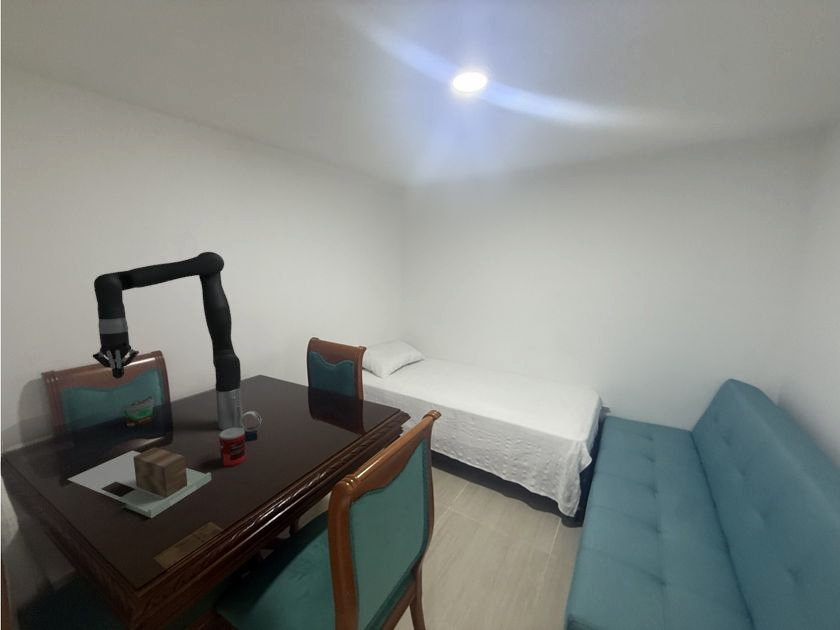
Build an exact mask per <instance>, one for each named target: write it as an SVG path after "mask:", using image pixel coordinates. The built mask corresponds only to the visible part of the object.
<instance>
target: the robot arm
mask: <svg viewBox="0 0 840 630" xmlns="http://www.w3.org/2000/svg"><path fill="white" fill-rule="evenodd" d="M224 268H225V261H224V259H223V257H222V256H221V255H220V254H218V253H216V252H213V251H203V252H201V253H199V254H198V255H197V256H194V257H191V258H188V259H183V260H179V261H174V262H165V263H159V264H158V263H157V264H151V265H145V266H140V267H136V268H135V267H134V268H131V269H129V270H121V271H116V272H110V273H104V274H100V275H98V276H97V277H96V278H95V279H94V281H93V289H94V293H95V299H96V303H97V317H98V324H97V325H98V334H99V343H100V348H99V351H98V352H97V353H93V354H92V358H93V359H94V360H96V361H97V362H98V363H99V364H101V366H103V367H105V368H110V369H111V371H112V377H113V378H114V379H121V378H123V377H124V376H125V368H124V367H127V366H128V365H130V364H131V363H132V362H133V361H134V360H135V358H137V356H138V355H139V354H140V351H139V350H135V349H134V348H133V349H132V346H131V345H130V338H129V337H130V336H129V335H130V334H129V326H128V321H127V317H126V309H125V303H124V300H123V299H124V298H123V297H124V296H123V291H127V290H132V289H135V288H137V289H139V288H145V287H151V286H154V285H159V284H164V283H167V282H168V283H169V282H172V281H174V280H179V279H184V278H188V277H194V276H195V277H197V276H198V277H199V281H200V285H201V291H202V292H201V293H202V304H203V313H204V319H205V322H206V326H207V331H208V333H209V336H210V339H211V345H212V347H211V348H212V362H213V366H214V369H215V370H214V371H215V397H216V399H215V400H216V413H217V428H218V429H219V430H222V431H224V430H226V429H230V428H241V426H240V418H241V416H242V415H243V414H244V411H243V401H242V395H241V380H242V378H241V377H242V375H241V373H242V371H241V360H240V358H239V357H238V356H237V354H236V352H235V348H234V346H233V342H232V327H233V326H232V314H231V313H232V312H231V308H230V303H229V300H228V297H227V295H226V292H225V290H224V288H223V284H222V283H223V281H222V273H221V272H222V271H223V270H224ZM126 356H128V358H127V359H126ZM242 423H244V417H243V418H242Z"/></svg>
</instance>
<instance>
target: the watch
mask: <svg viewBox="0 0 840 630" xmlns="http://www.w3.org/2000/svg"><path fill="white" fill-rule="evenodd" d="M248 415H251V416H252V418H253V421H255V422H256V423H258V424H257V425H256V426H253V427H252V426H251V427H247V426H245V425H244V424H243V423H244V422H243V423H242V418H243V419H244V418H245V417H246V416H248ZM261 424H262V417H261V416H260V414H259V413H258V412H257V411H254V410H250V411H246V412H243V415H242V416H241V418H240V426H241V427H240V428H242V429H244V434H245V443H248V442H252V441H257V440H258V429H259V428H260V427H261Z"/></svg>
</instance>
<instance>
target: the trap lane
mask: <svg viewBox="0 0 840 630" xmlns="http://www.w3.org/2000/svg"><path fill="white" fill-rule="evenodd" d="M141 453H142V452H138V451H135V450H131V451H128V452H126V453H124V454H122V455H119V456H117V457H115V458H113V459H110V460H108V461H105V462H104V463H100V464H98V465H97V466H94V467H92V468H89V469H87V470H86V471H83V472H81V473H79V474H76V475H74V476H72V477H69V478H67V480H68V481H70V482H73V483H75V484H77V485H79V486H80V485H81V486H82V487H85V488H87V489H90V490H92V491H95V492H97V493H100V494H102V495H104V496H107V497H110V498H112V499H114V500H117V501H119V502H121V503H125V504H123V505H122V507H124V508H126V509H128V510H130V511H134V512H135V513H138V514H140V515H143V516H145V517H148V518H150V519H152V518H154V517H156V516H157V515H158V514H161V513H162V512H164V511H165V510H167V509H168V508H170V507H171V506H173V505H175V504H176V503H177V502H180V501H181V500H182V499H185V497H187V496H189V495H191V494H192V493H193V492H195V491H197V490H198V489H200V488H202V487H203V486H204V485H206V484H208V483H210V482H211V481H212V473H211V472H207V473H203V472H201V471H197V470H194V469H191V468H188V467H186V474H187V486H185V487H184V488H182V489H181V490H179V491H177V492H176V493H174V494H172V495H171V496H169V497H167V498H165V497H162V496H160V495H157V494H154V493H152V492H149V491H147V490H144V489H141V488H139V487H137V485H136V476H135V467H134V458H133V457H134V456H136V455H139V454H141ZM115 482H116V483H119V484H122V485H124V486H127V487H130V488H132V489H134V490H131V491H130V492H128V493H126V494H124V495H122V496H119V495H116V494H114V493H111V492H109V491H106V490H104V489H103V488H105V487H107V486H109V485H112V484H113V483H115Z"/></svg>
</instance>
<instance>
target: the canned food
mask: <svg viewBox="0 0 840 630" xmlns="http://www.w3.org/2000/svg"><path fill="white" fill-rule="evenodd" d="M218 438H219V439H218V440H219V451H220V452H219V454H220V455H219V456H220V462H221V465H222V466H224V467H235V466H238V465H240V464H241V463H243V462H245V460H246V456H247V455H246V442H245V431H244V429H242V428H241V427H238V428H230V429H226V430H222V431H220V433H219V436H218Z"/></svg>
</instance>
